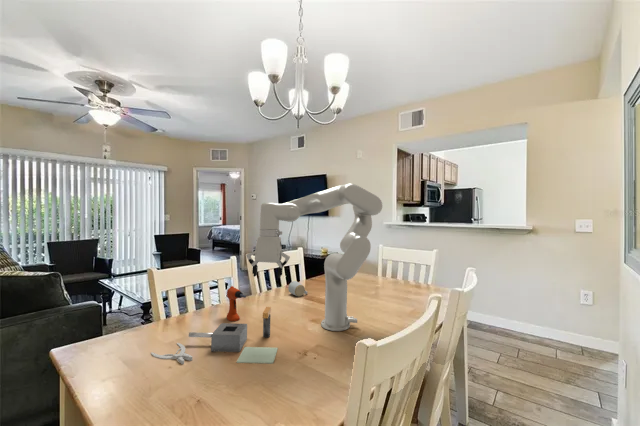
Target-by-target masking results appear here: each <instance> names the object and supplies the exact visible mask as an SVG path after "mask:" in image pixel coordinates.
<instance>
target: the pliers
mask: <svg viewBox="0 0 640 426" xmlns="http://www.w3.org/2000/svg"><path fill="white" fill-rule="evenodd" d="M176 345H177V346H178V347H179V348H178V349H177V351H176V352H175V353H174V354H173V353H167V354H158V353H154V352H153V351H152V352H150V354H151V356H152V357H154V358H156V359H160V360H176V361H177V362H178V363H179V364H181V365H185V360H186V361H190V362H191V361H193V356H192V355H191V354H188V353H186V346H185V345H184V344H182V343H180V342H176ZM178 352H179V353H178Z"/></svg>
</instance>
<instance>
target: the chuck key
mask: <svg viewBox="0 0 640 426" xmlns="http://www.w3.org/2000/svg"><path fill="white" fill-rule="evenodd" d="M271 313H272V307H271V306H266V307H265V308H264V310H263V311H262V319H263V321H262V323H263V324H262V338H266V339H268V338H270V337H271Z"/></svg>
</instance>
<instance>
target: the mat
mask: <svg viewBox="0 0 640 426" xmlns="http://www.w3.org/2000/svg"><path fill="white" fill-rule="evenodd" d="M243 347H244V348H242V351H241V353H240V355H239V357H238V358H237V360H236V363H237V364H270V365H271V364H273V365H274V363H275V362H274V361H275V359H276V355H277V353H278V352H277V351H278V349H279V347H268V346H267V347H266V346H264V347H263V346H262V347H259V346H243Z"/></svg>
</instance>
